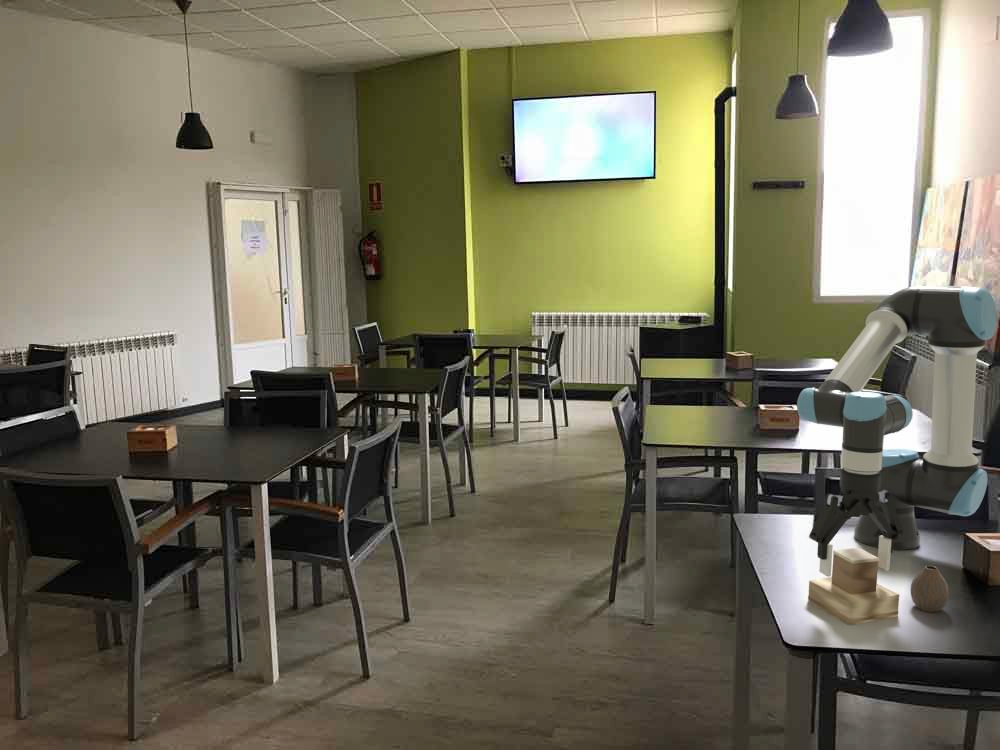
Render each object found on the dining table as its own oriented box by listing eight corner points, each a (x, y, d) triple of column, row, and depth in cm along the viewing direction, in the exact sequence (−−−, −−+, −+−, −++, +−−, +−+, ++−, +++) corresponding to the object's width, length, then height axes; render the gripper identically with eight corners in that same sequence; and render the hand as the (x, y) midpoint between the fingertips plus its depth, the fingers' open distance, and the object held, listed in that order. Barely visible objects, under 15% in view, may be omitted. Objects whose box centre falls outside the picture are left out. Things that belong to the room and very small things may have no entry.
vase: (927, 617, 167) (930, 575, 166) (901, 603, 173) (904, 563, 172) (955, 613, 169) (958, 571, 168) (928, 599, 175) (932, 559, 174)
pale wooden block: (856, 580, 174) (858, 547, 173) (876, 591, 168) (879, 558, 167) (831, 582, 172) (833, 550, 171) (850, 594, 167) (852, 560, 166)
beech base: (853, 595, 179) (855, 572, 178) (897, 618, 167) (899, 594, 167) (807, 603, 175) (809, 580, 174) (849, 627, 163) (851, 603, 163)
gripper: (901, 461, 173) (894, 559, 176) (794, 468, 167) (789, 569, 170) (927, 470, 166) (919, 572, 169) (817, 478, 160) (811, 583, 163)
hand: (854, 571), depth 170 cm, fingers open, 13 cm apart
